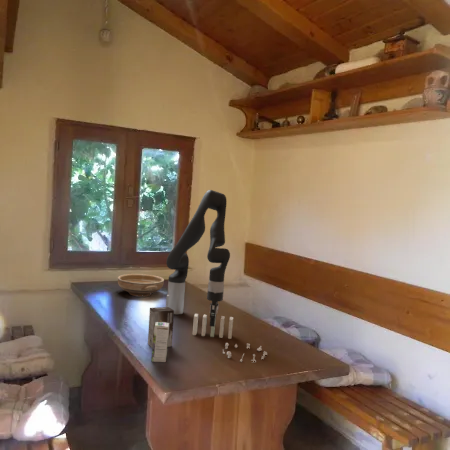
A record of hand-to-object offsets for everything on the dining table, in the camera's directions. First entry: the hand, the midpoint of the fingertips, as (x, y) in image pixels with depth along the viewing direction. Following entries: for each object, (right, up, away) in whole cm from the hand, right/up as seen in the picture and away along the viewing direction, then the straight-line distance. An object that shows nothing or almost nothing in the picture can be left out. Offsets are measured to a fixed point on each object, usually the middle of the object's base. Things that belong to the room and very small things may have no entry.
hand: (212, 323), depth 228 cm
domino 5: (+8, -6, 0) cm, 10 cm away
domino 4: (+4, -6, 0) cm, 7 cm away
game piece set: (+14, -9, -22) cm, 28 cm away
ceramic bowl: (-47, +3, +71) cm, 86 cm away
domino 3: (0, -6, 0) cm, 6 cm away
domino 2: (-4, -5, +1) cm, 7 cm away
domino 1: (-9, -5, +1) cm, 10 cm away
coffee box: (-23, -6, -20) cm, 30 cm away
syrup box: (-20, -7, -37) cm, 43 cm away
